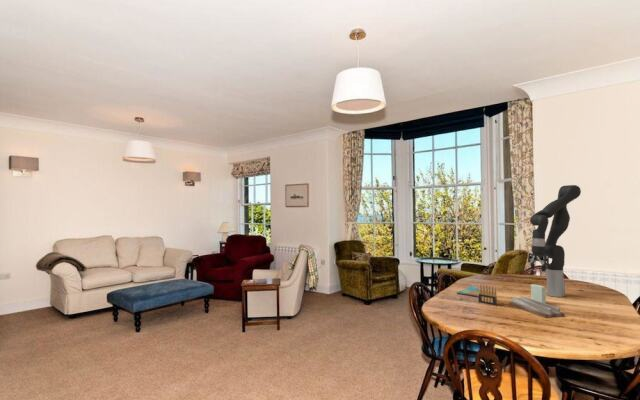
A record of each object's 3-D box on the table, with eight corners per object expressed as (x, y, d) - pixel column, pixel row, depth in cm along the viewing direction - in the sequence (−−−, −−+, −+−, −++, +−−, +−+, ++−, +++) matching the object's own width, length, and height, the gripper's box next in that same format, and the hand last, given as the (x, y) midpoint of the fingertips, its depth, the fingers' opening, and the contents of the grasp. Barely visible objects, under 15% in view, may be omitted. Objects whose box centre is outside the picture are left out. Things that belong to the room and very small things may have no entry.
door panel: (534, 302, 215) (534, 284, 215) (545, 305, 207) (545, 287, 208) (531, 302, 215) (530, 284, 215) (542, 306, 207) (541, 287, 207)
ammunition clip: (497, 305, 210) (496, 284, 211) (496, 305, 209) (495, 285, 209) (479, 301, 218) (479, 282, 219) (478, 302, 217) (477, 282, 218)
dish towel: (495, 292, 242) (494, 289, 242) (481, 299, 226) (481, 295, 226) (470, 289, 255) (470, 285, 255) (455, 294, 238) (455, 291, 238)
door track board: (526, 303, 213) (525, 295, 213) (564, 316, 187) (564, 307, 187) (509, 304, 210) (508, 297, 210) (545, 317, 185) (545, 309, 185)
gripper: (552, 246, 222) (552, 272, 222) (534, 244, 236) (533, 268, 236) (542, 246, 221) (542, 272, 220) (525, 244, 235) (524, 268, 234)
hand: (537, 270), depth 228 cm, fingers open, 8 cm apart
